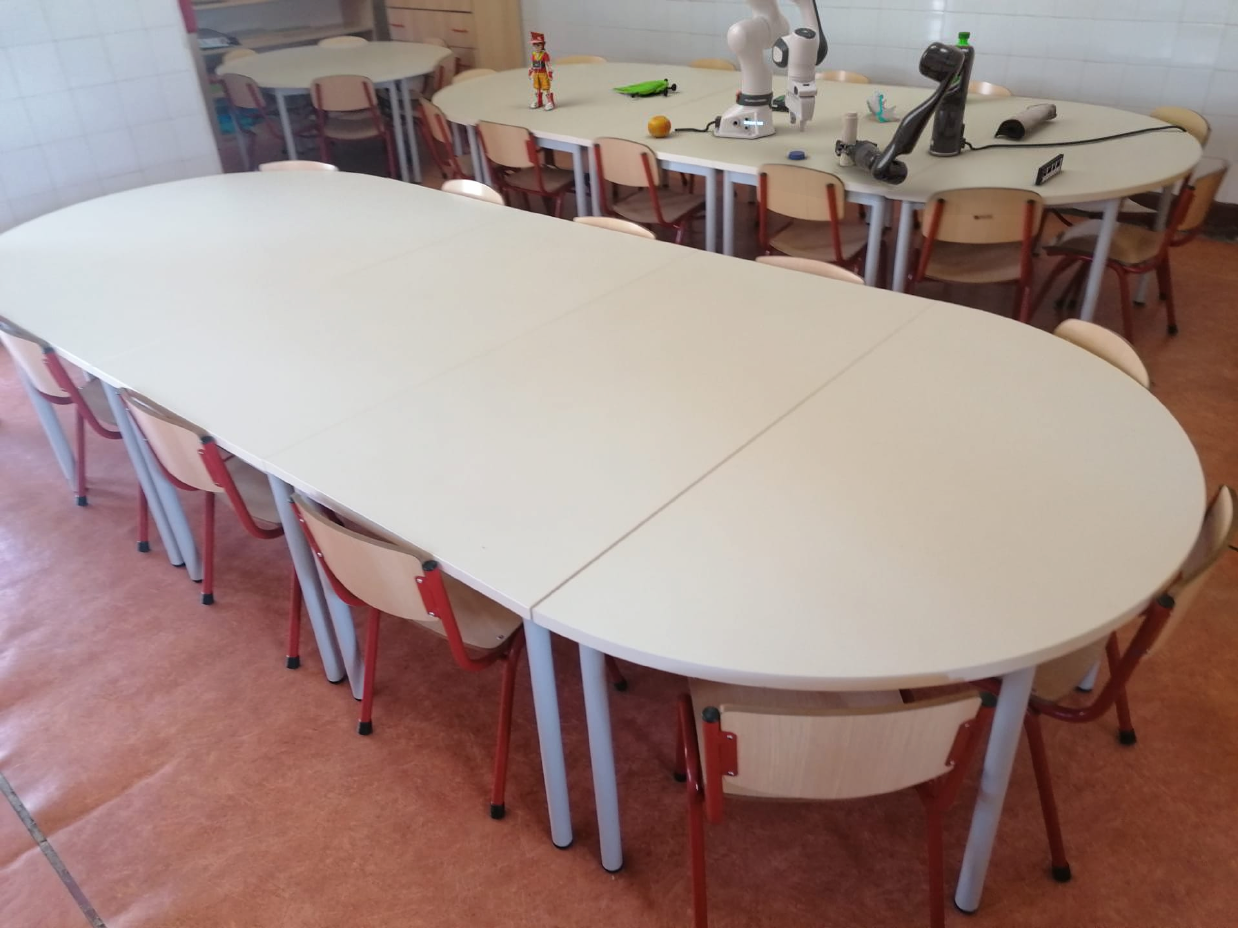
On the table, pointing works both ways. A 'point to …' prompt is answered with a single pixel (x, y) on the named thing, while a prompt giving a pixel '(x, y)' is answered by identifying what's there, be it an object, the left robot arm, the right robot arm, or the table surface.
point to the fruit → (659, 126)
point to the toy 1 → (541, 71)
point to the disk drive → (780, 104)
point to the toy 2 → (648, 88)
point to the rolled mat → (1026, 121)
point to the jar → (849, 134)
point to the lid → (796, 155)
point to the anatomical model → (880, 107)
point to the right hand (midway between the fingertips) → (845, 142)
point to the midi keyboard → (1049, 169)
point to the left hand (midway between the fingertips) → (796, 127)
